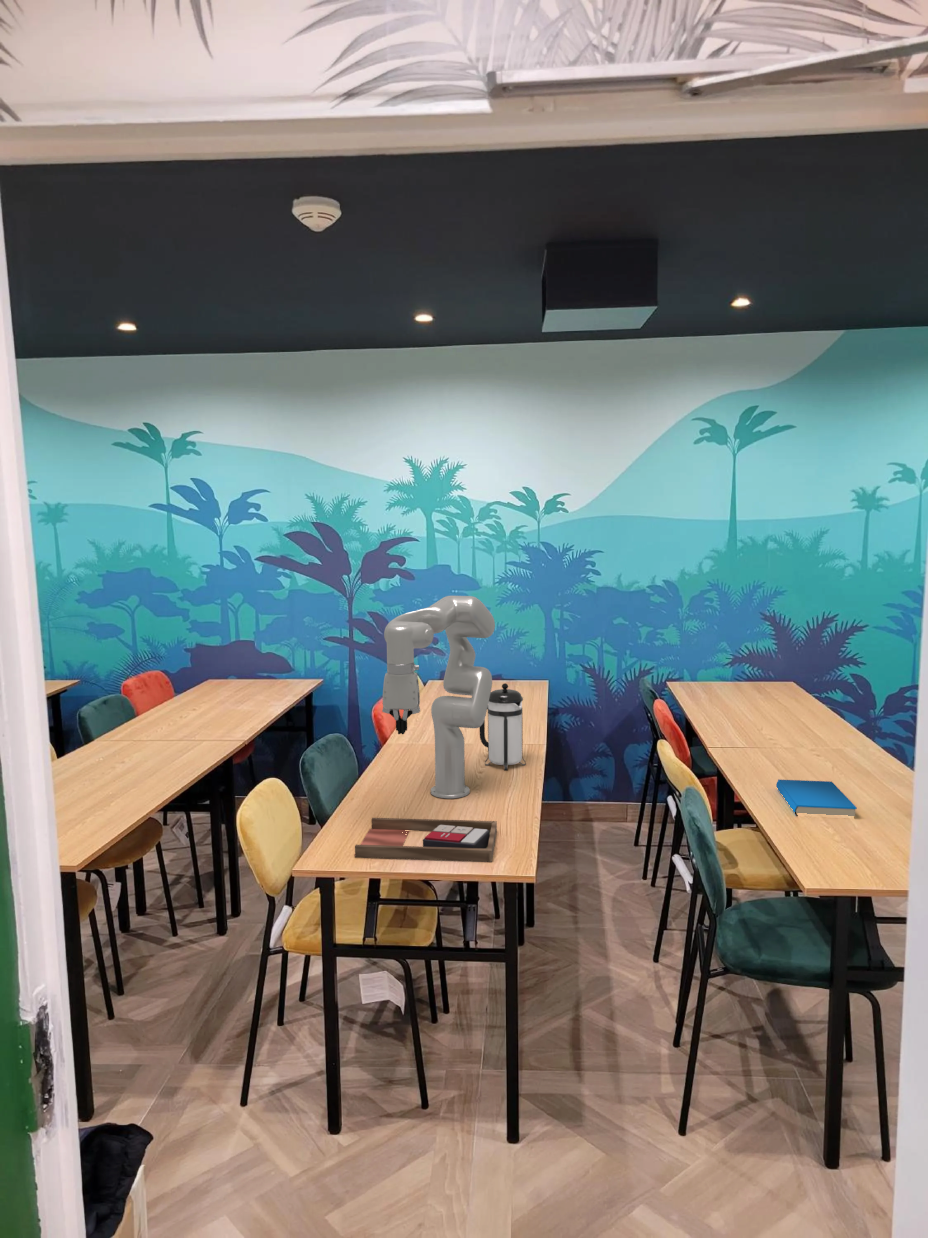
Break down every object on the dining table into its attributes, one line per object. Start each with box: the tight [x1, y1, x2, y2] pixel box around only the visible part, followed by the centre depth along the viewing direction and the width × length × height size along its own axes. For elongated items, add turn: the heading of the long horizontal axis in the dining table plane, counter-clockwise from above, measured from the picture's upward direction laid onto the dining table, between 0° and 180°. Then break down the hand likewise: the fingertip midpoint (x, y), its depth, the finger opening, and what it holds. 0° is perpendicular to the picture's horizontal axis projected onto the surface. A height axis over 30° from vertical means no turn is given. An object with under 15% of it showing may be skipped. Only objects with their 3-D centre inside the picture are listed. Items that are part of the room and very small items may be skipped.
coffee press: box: [479, 683, 527, 772], centre depth 285 cm, size 17×16×30 cm
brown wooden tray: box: [353, 817, 498, 863], centre depth 213 cm, size 21×36×3 cm, turn 84°
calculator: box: [422, 825, 490, 849], centre depth 210 cm, size 11×4×15 cm
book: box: [775, 779, 857, 817], centre depth 242 cm, size 17×4×25 cm
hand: (401, 733), depth 224 cm, fingers closed
